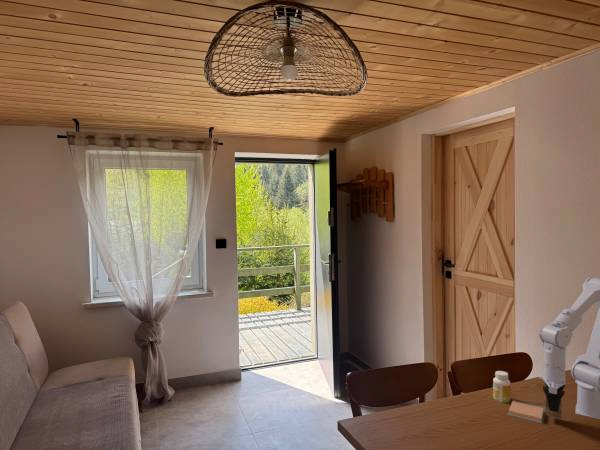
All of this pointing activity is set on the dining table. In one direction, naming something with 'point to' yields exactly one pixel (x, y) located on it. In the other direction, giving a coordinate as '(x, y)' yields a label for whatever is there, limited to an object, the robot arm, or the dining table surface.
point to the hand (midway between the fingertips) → (554, 407)
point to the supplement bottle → (501, 387)
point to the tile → (526, 411)
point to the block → (553, 413)
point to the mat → (533, 405)
